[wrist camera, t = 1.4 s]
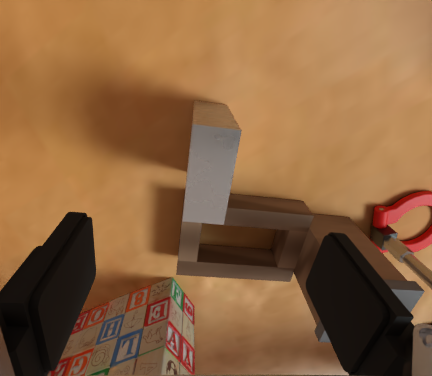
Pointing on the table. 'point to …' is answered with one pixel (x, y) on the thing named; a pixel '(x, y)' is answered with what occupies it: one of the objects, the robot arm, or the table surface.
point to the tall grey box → (210, 163)
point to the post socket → (282, 248)
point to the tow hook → (388, 238)
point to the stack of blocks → (134, 336)
